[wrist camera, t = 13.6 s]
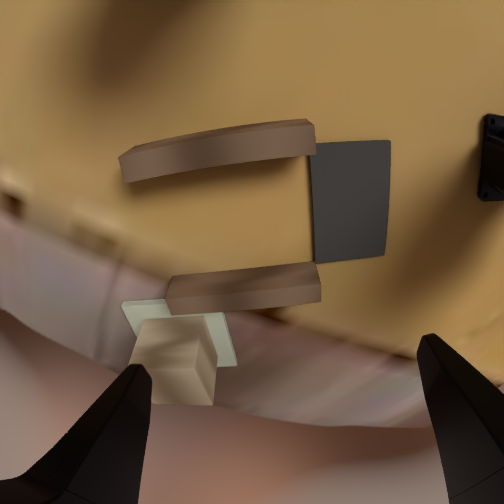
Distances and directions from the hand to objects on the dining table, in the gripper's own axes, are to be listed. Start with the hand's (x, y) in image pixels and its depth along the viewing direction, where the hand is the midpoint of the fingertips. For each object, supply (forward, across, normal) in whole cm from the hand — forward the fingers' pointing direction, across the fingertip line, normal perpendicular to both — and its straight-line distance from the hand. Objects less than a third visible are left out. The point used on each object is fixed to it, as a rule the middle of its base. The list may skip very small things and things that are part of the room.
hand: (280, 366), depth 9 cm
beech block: (+11, +9, +10) cm, 17 cm away
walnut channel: (+12, +3, 0) cm, 12 cm away
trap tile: (+12, -5, +1) cm, 13 cm away
